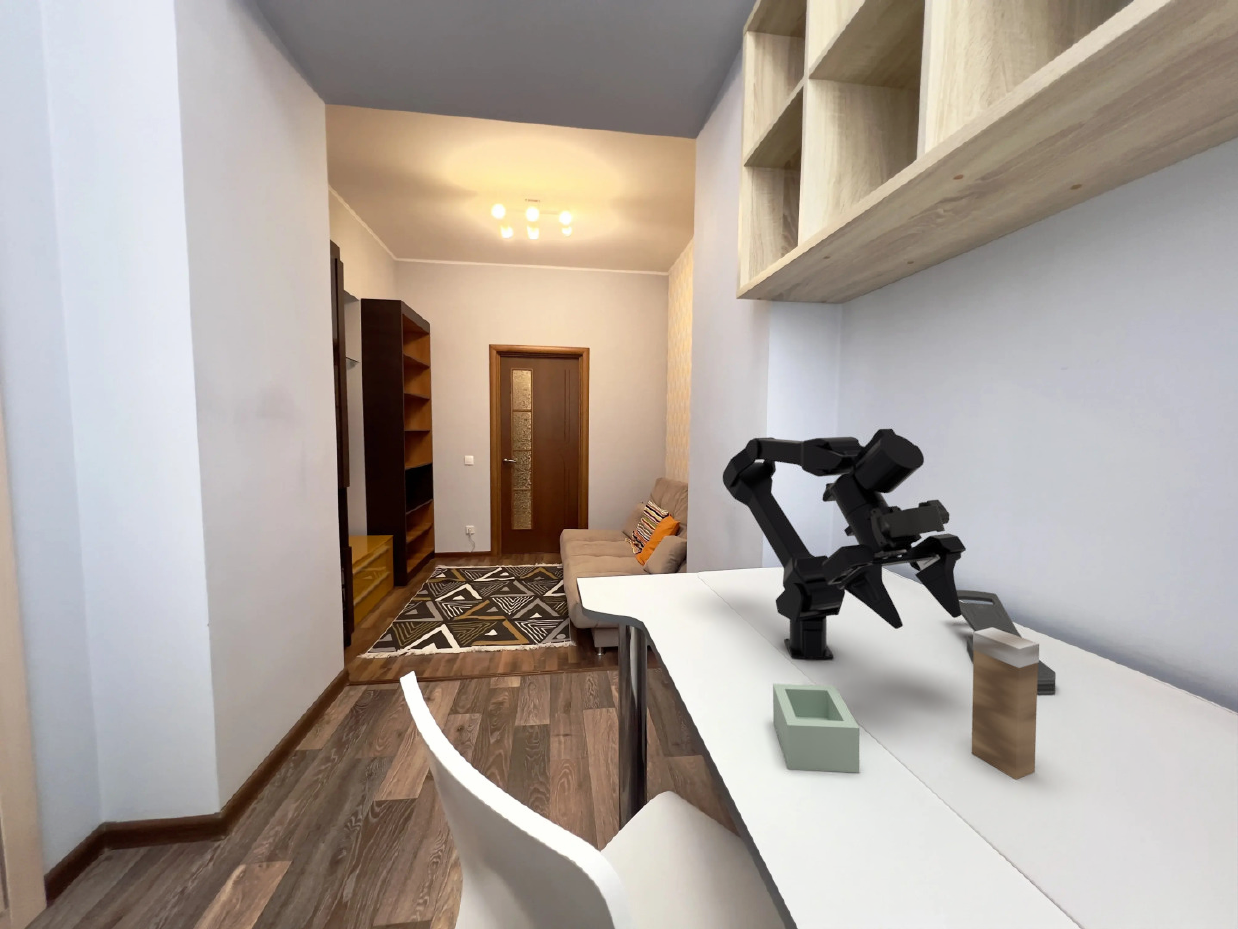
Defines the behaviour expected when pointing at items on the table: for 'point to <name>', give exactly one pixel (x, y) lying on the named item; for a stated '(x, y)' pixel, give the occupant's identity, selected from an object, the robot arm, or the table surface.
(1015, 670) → the rail end
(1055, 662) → the table surface
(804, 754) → the post foot
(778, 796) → the table surface
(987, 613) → the zipper pull
